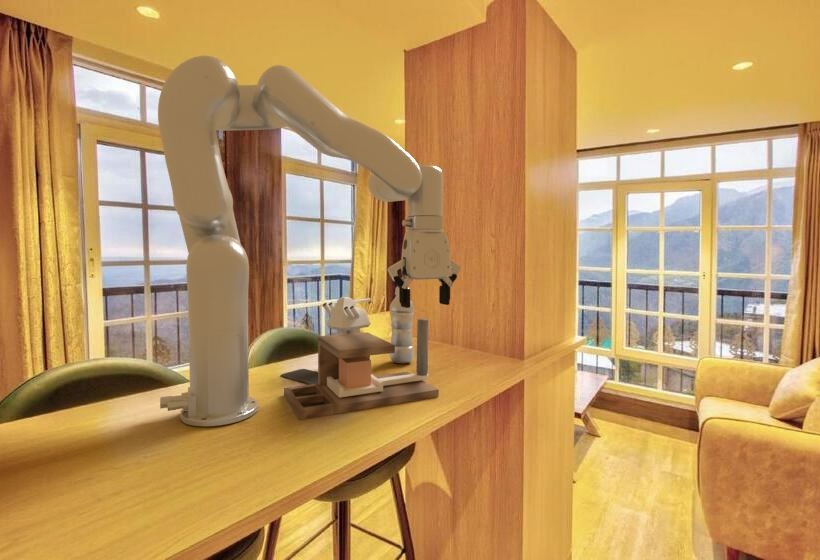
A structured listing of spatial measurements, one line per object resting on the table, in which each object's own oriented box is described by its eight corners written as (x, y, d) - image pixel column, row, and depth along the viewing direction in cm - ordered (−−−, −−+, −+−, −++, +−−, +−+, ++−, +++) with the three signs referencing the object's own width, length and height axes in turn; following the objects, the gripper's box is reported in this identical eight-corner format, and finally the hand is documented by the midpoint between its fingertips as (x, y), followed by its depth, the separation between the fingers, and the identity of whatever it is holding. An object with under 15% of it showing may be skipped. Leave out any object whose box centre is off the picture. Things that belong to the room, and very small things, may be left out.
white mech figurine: (385, 366, 107) (386, 296, 106) (346, 378, 97) (346, 300, 96) (353, 358, 115) (353, 293, 114) (313, 368, 105) (314, 296, 104)
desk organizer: (299, 419, 72) (299, 354, 72) (283, 395, 85) (283, 338, 84) (438, 396, 85) (439, 340, 85) (407, 378, 98) (407, 329, 97)
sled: (339, 397, 79) (339, 329, 78) (326, 385, 86) (327, 322, 85) (436, 383, 88) (437, 322, 88) (417, 373, 96) (418, 316, 95)
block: (346, 388, 81) (346, 363, 81) (338, 381, 85) (338, 357, 85) (370, 385, 83) (371, 360, 83) (361, 378, 88) (361, 354, 87)
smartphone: (303, 368, 104) (346, 378, 95) (303, 371, 104) (346, 382, 95) (277, 374, 98) (322, 386, 89) (278, 378, 98) (322, 390, 89)
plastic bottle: (414, 366, 108) (415, 289, 107) (387, 365, 108) (388, 288, 107) (414, 359, 115) (415, 287, 113) (389, 359, 115) (390, 286, 114)
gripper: (396, 223, 82) (396, 310, 83) (468, 225, 90) (468, 305, 91) (380, 226, 89) (381, 306, 90) (449, 227, 97) (449, 301, 98)
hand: (425, 305), depth 91 cm, fingers open, 9 cm apart
